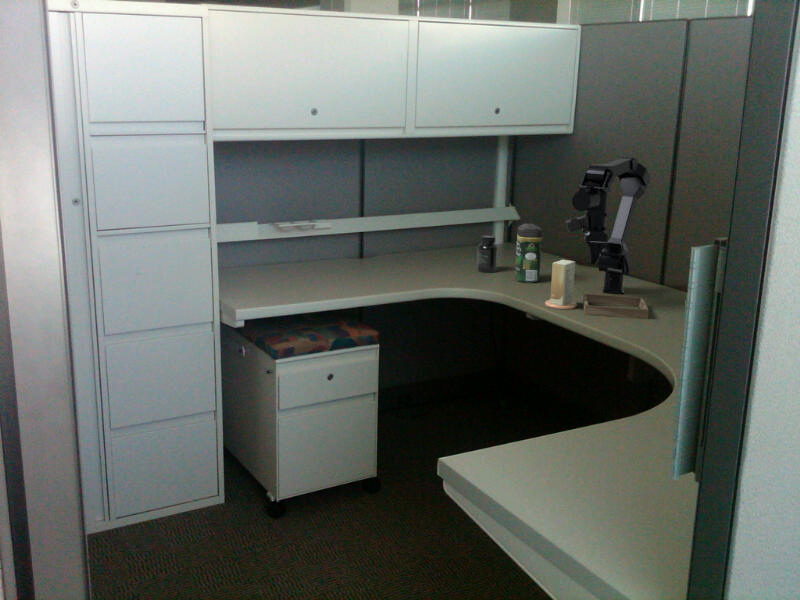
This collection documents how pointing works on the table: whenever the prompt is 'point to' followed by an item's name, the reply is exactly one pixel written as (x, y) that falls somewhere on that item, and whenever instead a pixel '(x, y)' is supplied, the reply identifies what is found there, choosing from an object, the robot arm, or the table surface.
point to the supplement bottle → (487, 255)
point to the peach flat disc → (567, 306)
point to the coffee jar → (528, 253)
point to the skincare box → (562, 282)
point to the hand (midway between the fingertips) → (592, 260)
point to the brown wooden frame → (615, 310)
